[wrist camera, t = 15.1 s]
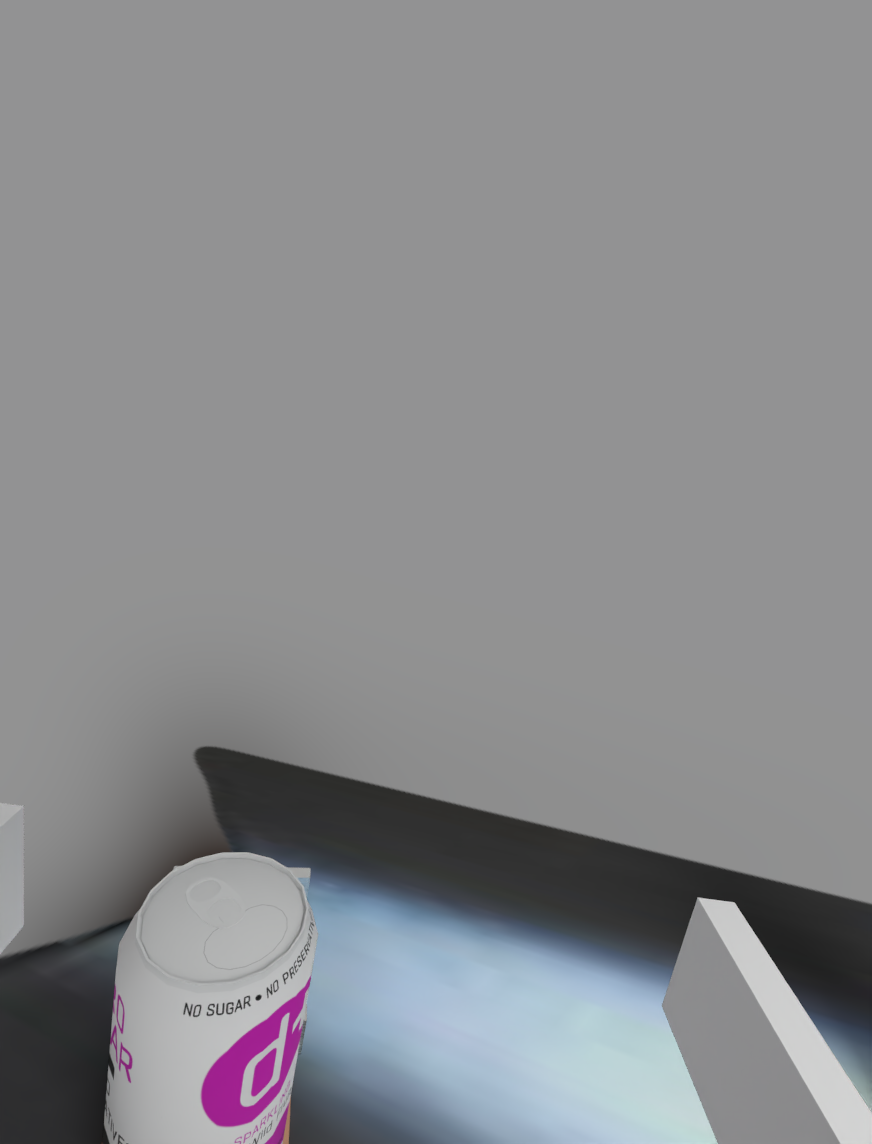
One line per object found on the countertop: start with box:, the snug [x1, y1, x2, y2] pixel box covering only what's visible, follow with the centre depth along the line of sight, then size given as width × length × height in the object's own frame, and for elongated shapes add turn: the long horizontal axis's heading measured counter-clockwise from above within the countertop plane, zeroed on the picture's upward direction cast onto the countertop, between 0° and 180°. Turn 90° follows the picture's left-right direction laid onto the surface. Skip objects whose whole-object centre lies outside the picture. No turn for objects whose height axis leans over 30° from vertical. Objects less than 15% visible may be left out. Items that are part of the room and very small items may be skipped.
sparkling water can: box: [102, 852, 318, 1144], centre depth 26 cm, size 8×8×15 cm
